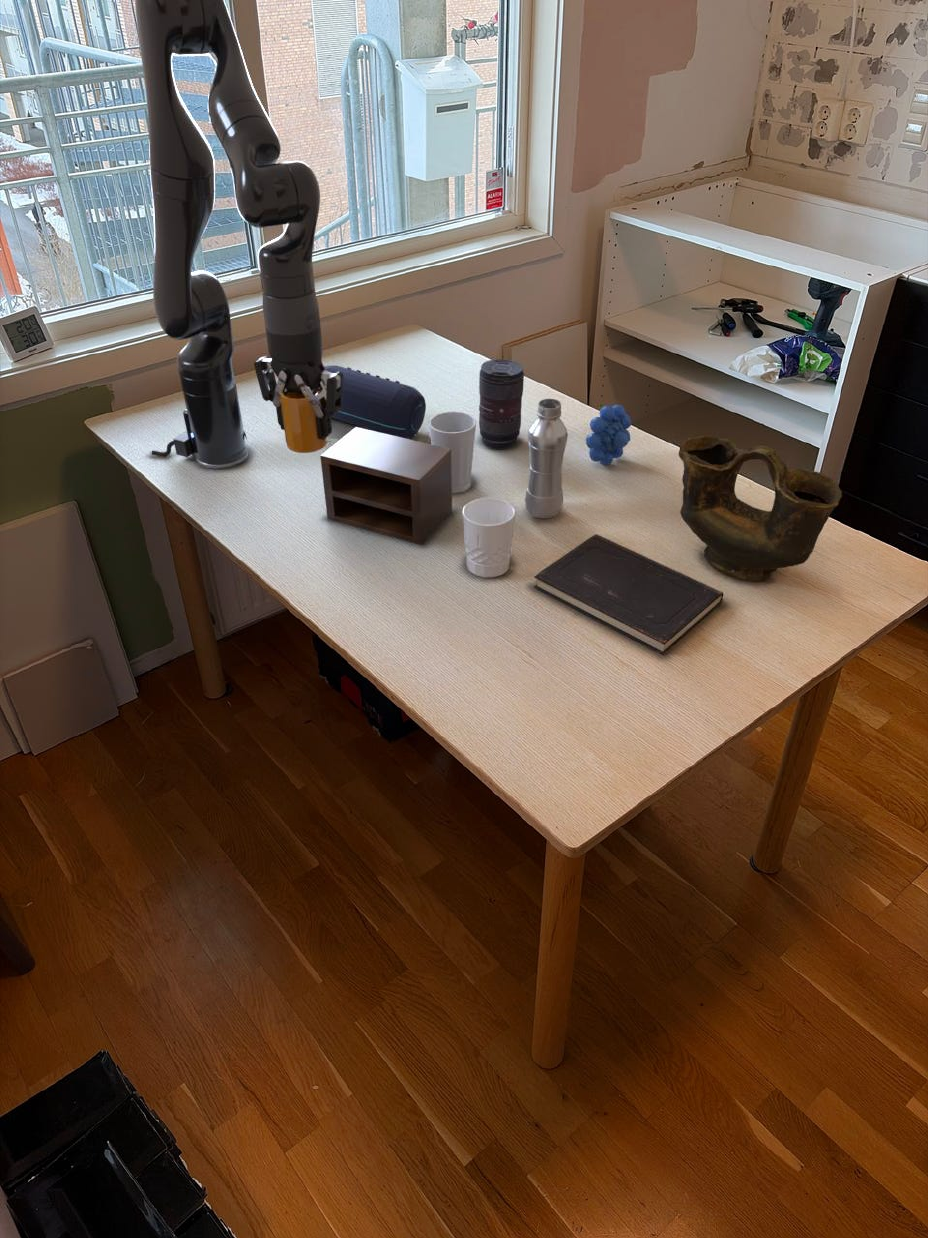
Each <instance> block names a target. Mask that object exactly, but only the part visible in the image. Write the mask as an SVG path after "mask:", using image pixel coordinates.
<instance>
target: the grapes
mask: <svg viewBox="0 0 928 1238" xmlns="http://www.w3.org/2000/svg"><path fill="white" fill-rule="evenodd" d="M631 426H632V418H631V416H630V415H629V414H628V413H626V409H625V408H624V406H623V405H622V404H620V403H619V404H617V403H616V404H614V405H613V406H612V405H604V406H602V407H601V408H600V410H599V416H595V417H593V418H592V419H591V420H590V422H589V428H590V430H591V433H589V434H587V436H586V437H585V444H586V446H587V448H588V449H589V451H588V455H589V458H590V460H591V461H592V462H595V463H596V462H597V463H600V464H601V465H602V466H607V465H610V464H611V463H612V462H613V461H614V459H619V458H620V457H622V456H623V455H624V448H625V447H626V446H627V445H628V444H629V442H631V433H630V432H629V430H628V429H629V428H630V427H631Z"/></svg>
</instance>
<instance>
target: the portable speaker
mask: <svg viewBox="0 0 928 1238" xmlns="http://www.w3.org/2000/svg"><path fill="white" fill-rule="evenodd" d="M324 368H325V371H328V372H331V373H333V374H335V373H337V372H341V373H342V374H343V396H342V409H340V410H339V411H338V412H336V413H335V414H334V415H333V416H331V419H335V420H338V421H341V422H345V423H348V424H351V425H354V426H356V427H359V428H363V429H367V430H371V431H376V432H380V433H384V434H389V435H393V436H397V437H401V438H406V439H412V438H414V437H415V436H417V434H418V432H419V430H420V429H421V428H422V425H423V422H424V420H425V416H426V410H427V408H426V407H427V403H426V399H425V396H424V395H423V394H422V393H421V392H420V391H419V390H418V389H417V388H416V387H414V386H411V385H408V384H404V383H401V382H400V381H398V380H395V381H394V380H390V378H388V377H386V378H383V377H381V376H380V375H377V374H376V375H371V373H369V372H365V373H364V372H362V371H361V370H359V369H356V370H355V369H354V370H353V369H352V368H351V367H349V366H347V367H344V366H340V365H337V364H335V365H333V364H332V365H325V366H324ZM322 383H323V385H325V383H324V381H323V379H322ZM325 389H326V390H327V388H325Z"/></svg>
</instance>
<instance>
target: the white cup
mask: <svg viewBox="0 0 928 1238" xmlns="http://www.w3.org/2000/svg"><path fill="white" fill-rule="evenodd" d="M515 519H516V509H515V507H514V506H513V504H512V503H510V502H508V501H507V500H505V499H502V498H499V497H498V498H497V497H480V498H476V499H473V500H471V501H468V502H467V503H465V505H464V506H463V508H462V524H463V525H462V526H463V542H464V551H465V563H466V565H465V566H466V567H467V570H468V571H469V572H470V573H472V574H473V575H474V576H477V577H481V578H497V577H500V576H502V575H504V574H505V573H506V572H508V570H509V568H510V565H511V554H512V551H513V542H514V529H515Z"/></svg>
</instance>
